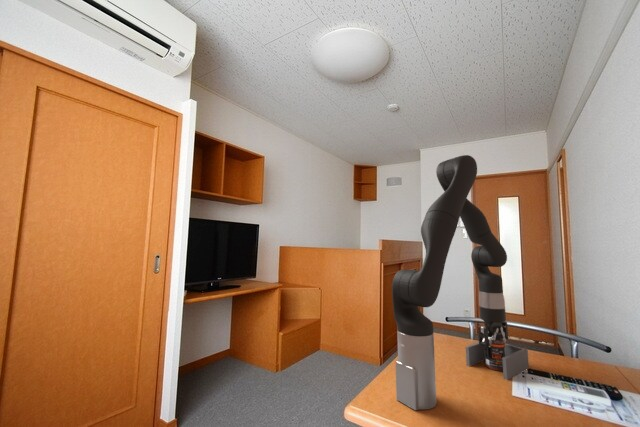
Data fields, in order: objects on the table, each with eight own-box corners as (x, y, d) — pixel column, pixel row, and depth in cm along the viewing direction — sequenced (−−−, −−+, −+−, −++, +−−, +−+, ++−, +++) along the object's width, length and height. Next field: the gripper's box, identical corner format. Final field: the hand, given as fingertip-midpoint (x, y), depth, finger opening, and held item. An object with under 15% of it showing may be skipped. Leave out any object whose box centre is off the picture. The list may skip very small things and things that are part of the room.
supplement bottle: (488, 370, 92) (485, 333, 93) (483, 363, 97) (481, 328, 99) (509, 372, 90) (506, 335, 91) (503, 365, 96) (500, 330, 97)
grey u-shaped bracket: (507, 380, 85) (505, 358, 86) (466, 365, 96) (465, 346, 96) (529, 368, 93) (527, 349, 94) (489, 356, 103) (488, 338, 104)
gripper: (492, 310, 89) (496, 365, 87) (514, 305, 97) (517, 355, 95) (469, 306, 95) (471, 357, 93) (491, 301, 103) (494, 348, 101)
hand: (495, 356), depth 94 cm, fingers open, 8 cm apart
